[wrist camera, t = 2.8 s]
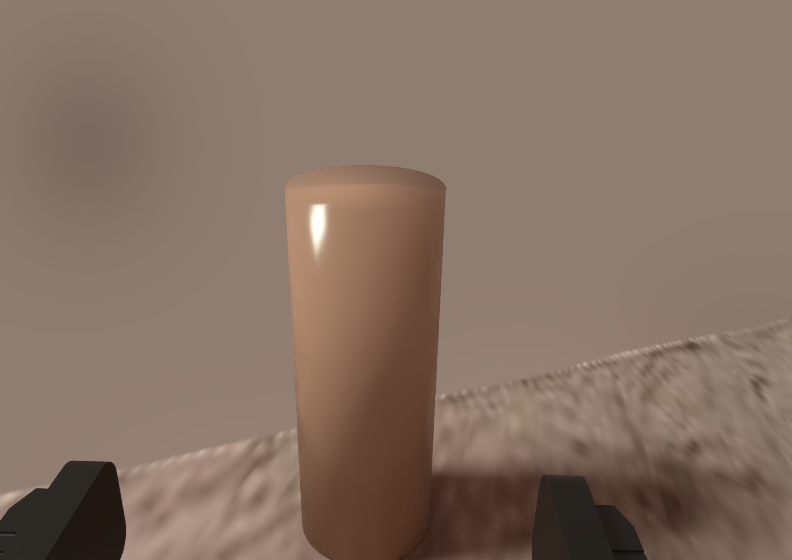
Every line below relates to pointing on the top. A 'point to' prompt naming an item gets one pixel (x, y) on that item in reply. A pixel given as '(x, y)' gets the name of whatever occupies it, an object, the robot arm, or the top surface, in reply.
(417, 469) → the terracotta canister
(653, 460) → the top surface
